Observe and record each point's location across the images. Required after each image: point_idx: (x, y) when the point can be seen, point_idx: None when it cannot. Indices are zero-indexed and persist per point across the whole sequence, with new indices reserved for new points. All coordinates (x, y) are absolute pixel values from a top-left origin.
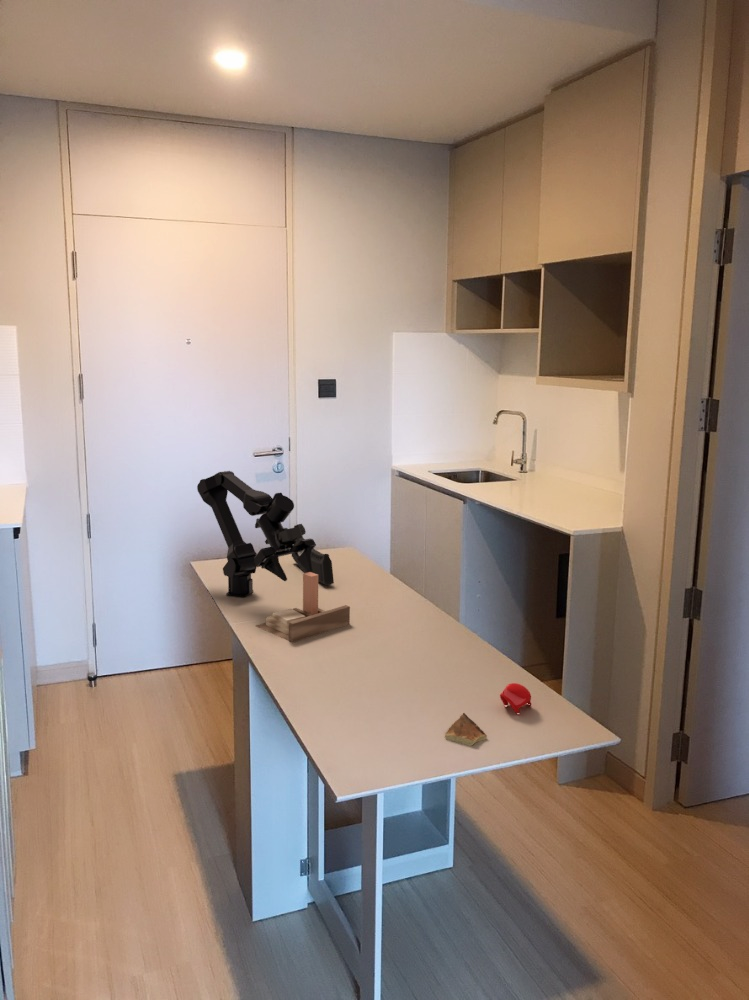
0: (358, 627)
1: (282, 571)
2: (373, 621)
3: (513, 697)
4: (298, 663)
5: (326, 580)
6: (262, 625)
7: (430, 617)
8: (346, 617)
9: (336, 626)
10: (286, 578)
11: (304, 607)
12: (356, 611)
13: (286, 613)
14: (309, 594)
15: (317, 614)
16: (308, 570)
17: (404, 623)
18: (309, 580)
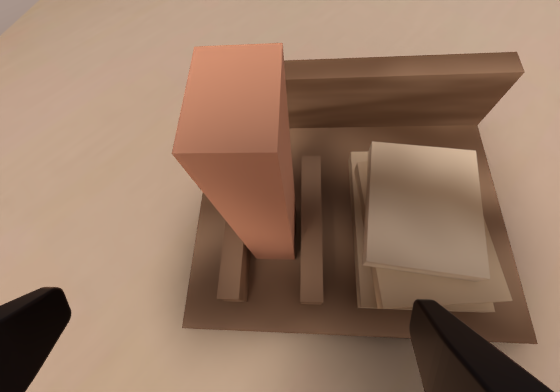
0: None
1: (518, 389)
2: (128, 113)
3: None
4: (512, 29)
5: None
6: (500, 319)
7: (17, 50)
8: None
9: None
10: (427, 304)
11: (293, 235)
12: (74, 210)
13: (428, 219)
14: (290, 162)
15: (359, 71)
16: (23, 350)
17: (94, 59)
18: (284, 98)
